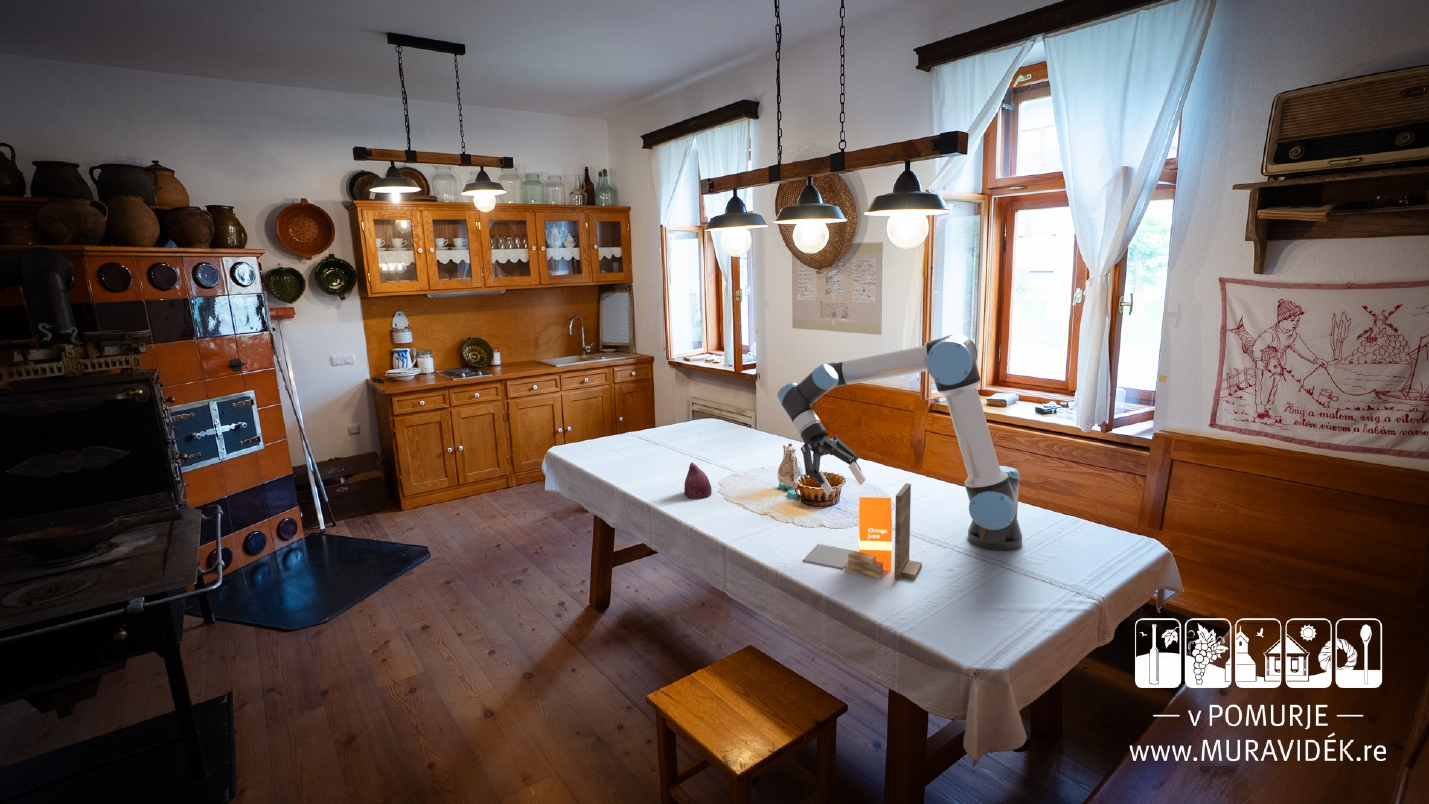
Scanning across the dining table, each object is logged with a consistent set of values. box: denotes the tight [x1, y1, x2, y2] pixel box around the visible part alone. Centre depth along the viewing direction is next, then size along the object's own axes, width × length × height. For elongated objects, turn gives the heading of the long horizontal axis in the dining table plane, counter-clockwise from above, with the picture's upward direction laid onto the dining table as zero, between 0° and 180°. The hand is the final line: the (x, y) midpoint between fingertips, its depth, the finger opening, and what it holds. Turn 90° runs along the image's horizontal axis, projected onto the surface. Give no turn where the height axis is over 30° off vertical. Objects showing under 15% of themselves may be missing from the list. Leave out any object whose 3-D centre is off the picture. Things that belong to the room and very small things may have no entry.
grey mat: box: [802, 543, 852, 570], centre depth 195 cm, size 12×12×1 cm
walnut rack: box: [843, 482, 923, 581], centre depth 183 cm, size 18×12×24 cm, turn 60°
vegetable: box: [683, 462, 713, 500], centre depth 248 cm, size 10×10×15 cm
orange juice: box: [858, 496, 893, 571], centre depth 187 cm, size 8×9×20 cm
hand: (847, 487), depth 193 cm, fingers open, 13 cm apart
